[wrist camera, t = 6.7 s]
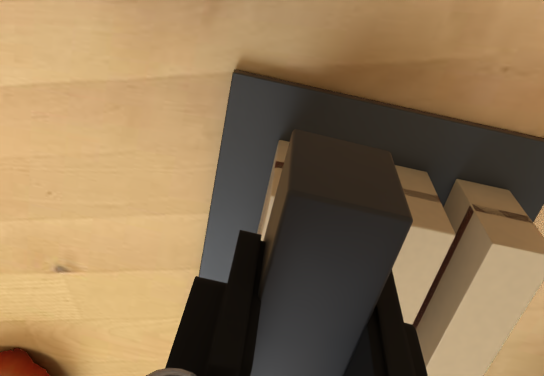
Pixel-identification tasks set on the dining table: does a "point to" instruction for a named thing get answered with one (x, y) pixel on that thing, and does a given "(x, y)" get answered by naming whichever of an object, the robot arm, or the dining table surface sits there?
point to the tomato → (19, 364)
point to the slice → (479, 281)
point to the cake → (370, 132)
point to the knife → (326, 254)
